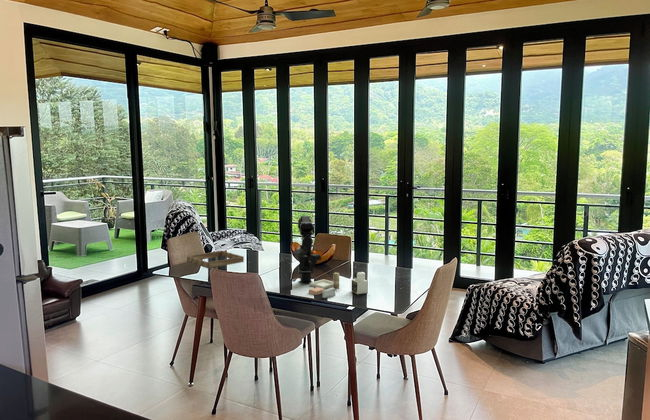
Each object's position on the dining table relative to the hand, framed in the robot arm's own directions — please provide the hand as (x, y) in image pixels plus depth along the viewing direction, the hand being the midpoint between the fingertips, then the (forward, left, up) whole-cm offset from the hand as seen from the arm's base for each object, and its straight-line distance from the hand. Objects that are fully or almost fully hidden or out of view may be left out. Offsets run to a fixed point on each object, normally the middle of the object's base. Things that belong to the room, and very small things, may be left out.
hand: (306, 269), depth 291 cm
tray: (+1, +13, -12) cm, 18 cm away
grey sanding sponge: (+19, 0, -12) cm, 22 cm away
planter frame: (-100, 0, -12) cm, 101 cm away
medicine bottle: (+25, +19, -12) cm, 33 cm away
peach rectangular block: (+9, 0, -12) cm, 15 cm away
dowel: (+10, +15, -12) cm, 21 cm away
